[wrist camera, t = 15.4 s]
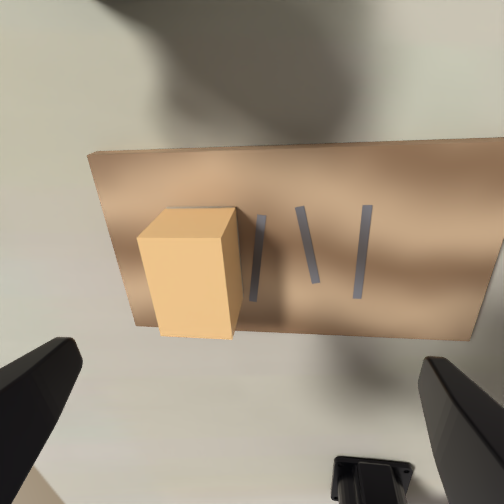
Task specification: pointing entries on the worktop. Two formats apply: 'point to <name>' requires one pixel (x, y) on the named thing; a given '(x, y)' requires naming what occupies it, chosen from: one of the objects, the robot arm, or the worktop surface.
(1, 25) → the worktop surface
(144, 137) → the worktop surface
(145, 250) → the block
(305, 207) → the board
